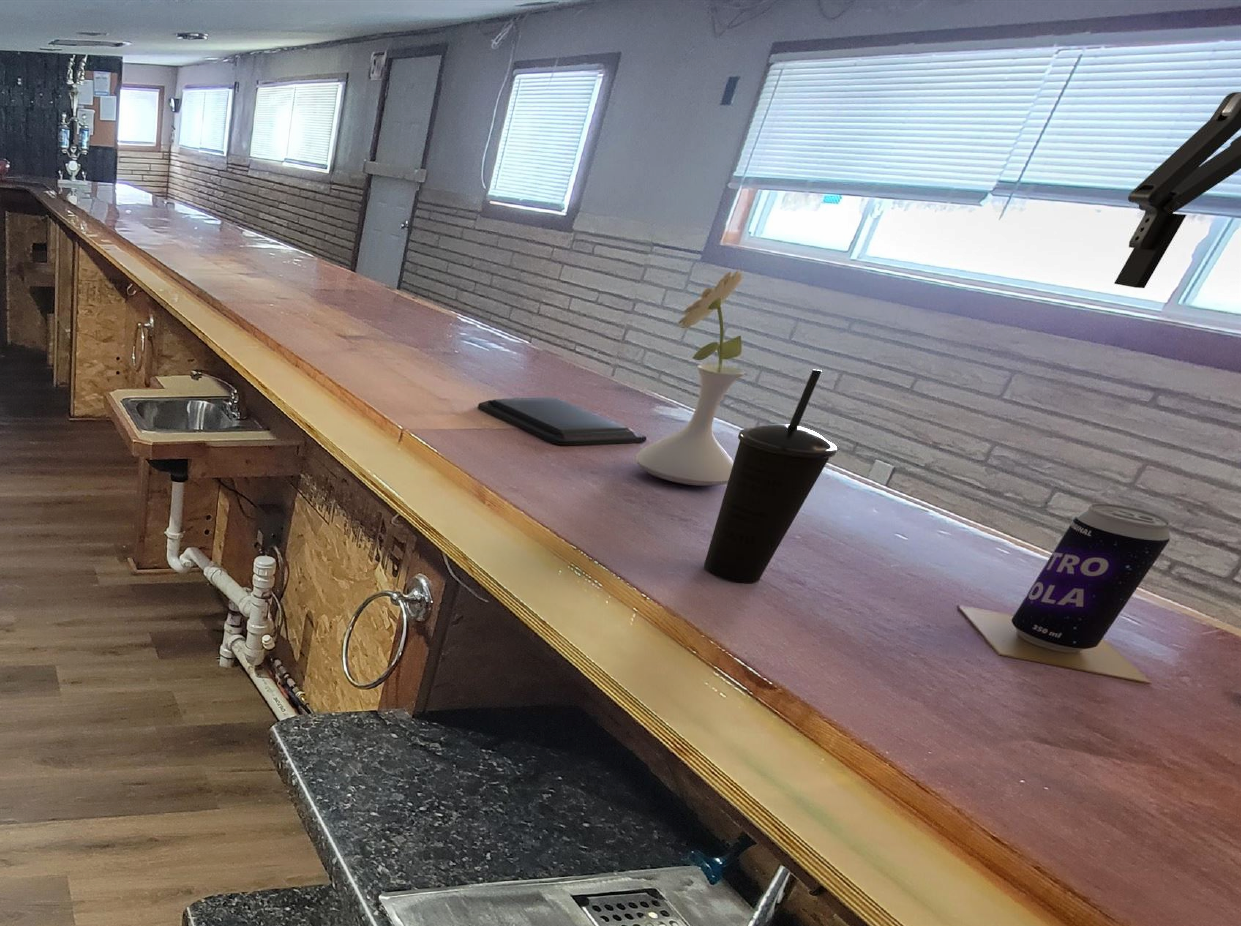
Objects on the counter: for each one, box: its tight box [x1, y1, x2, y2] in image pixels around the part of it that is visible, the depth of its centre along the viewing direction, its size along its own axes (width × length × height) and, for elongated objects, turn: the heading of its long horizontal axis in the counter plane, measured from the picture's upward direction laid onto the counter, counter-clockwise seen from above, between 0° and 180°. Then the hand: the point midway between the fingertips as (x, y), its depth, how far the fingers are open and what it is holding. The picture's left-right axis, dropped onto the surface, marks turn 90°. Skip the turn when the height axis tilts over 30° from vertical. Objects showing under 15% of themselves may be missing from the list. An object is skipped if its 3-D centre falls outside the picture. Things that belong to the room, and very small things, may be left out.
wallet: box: [477, 397, 648, 446], centre depth 133 cm, size 20×2×15 cm
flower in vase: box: [634, 269, 746, 487], centre depth 107 cm, size 13×11×25 cm
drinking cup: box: [703, 368, 838, 584], centre depth 83 cm, size 8×8×20 cm
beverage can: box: [1011, 502, 1174, 653], centre depth 75 cm, size 6×6×12 cm
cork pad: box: [956, 604, 1152, 684], centre depth 78 cm, size 10×10×1 cm
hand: (1208, 291), depth 86 cm, fingers open, 13 cm apart
